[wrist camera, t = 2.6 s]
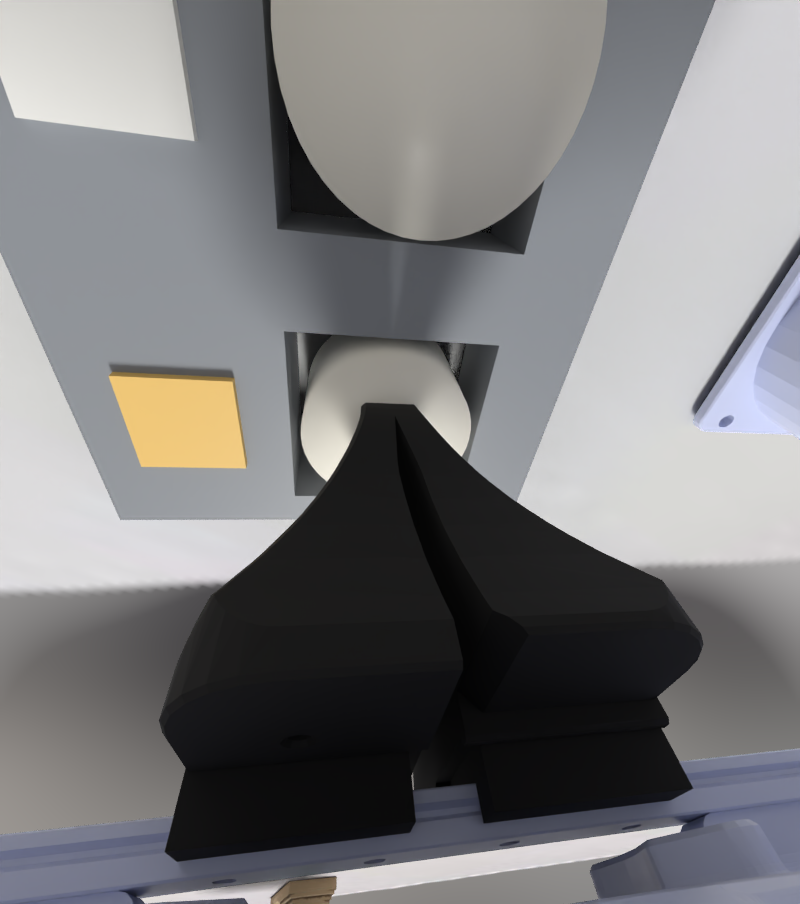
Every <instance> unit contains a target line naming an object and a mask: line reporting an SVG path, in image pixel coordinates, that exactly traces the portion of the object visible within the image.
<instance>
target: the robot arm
mask: <svg viewBox="0 0 800 904" xmlns="http://www.w3.org/2000/svg"><path fill="white" fill-rule="evenodd" d="M693 423H694V425H695V426H696V427H698V428H699V429H700V430H701V431H705V432H731V433H760V434H788V435H793V436H795V437H796V438H798V439H799V440H800V255H799V256H798V258H797V260H796V261H795V263H794V264H793V266H792V267H791V269H790V270H789V272H788V273H787V275H786V276H785V278H784V280H783V281H782V283H781V284H780V286H779V287H778V289H777V290H776V292H775V293H774V295H773V296H772V298H771V299H770V301H769V303H768V304H767V306H766V307H765V309H764V310H763V312H762V313H761V315H760V316H759V318H758V319H757V321H756V322H755V324H754V326H753V327H752V329H751V330H750V332H749V333H748V335H747V336H746V338H745V339H744V341H743V342H742V344H741V345H740V347H739V349H738V350H737V352H736V353H735V355H734V356H733V358H732V359H731V361H730V362H729V364H728V365H727V367H726V369H725V370H724V372H723V373H722V375H721V376H720V378H719V379H718V381H717V382H716V384H715V385H714V387H713V388H712V390H711V392H710V393H709V395H708V396H707V398H706V399H705V401H704V402H703V404H702V405H701V407H700V408H699V410H698V411H697V413H696V415H695V417H694V419H693ZM702 646H703V640H702V636H701V633H700V632H699V631H698V629H697V628H696V626H695V625H694V624H693V622H692V621H691V619H690V618H689V617H688V615H687V614H686V613H685V611H684V610H683V608H682V607H681V605H680V604H679V603H678V601H677V600H676V599H675V597H674V596H673V594H672V593H671V592H670V590H669V589H668V587H667V586H666V585H665V583H664V582H663V581H662V580H660V579H658V578H656V577H654V576H652V575H649V574H647V573H645V572H643V571H641V570H639V569H636V568H634V567H632V566H630V565H628V564H626V563H624V562H621V561H619V560H617V559H615V558H613V557H611V556H608V555H606V554H604V553H602V552H600V551H598V550H596V549H594V548H593V547H591V546H589V545H587V544H585V543H583V542H581V541H580V540H578V539H576V538H574V537H572V536H570V535H568V534H567V533H565V532H563V531H562V530H560V529H558V528H556V527H555V526H553V525H551V524H550V523H548V522H546V521H545V520H543V519H542V518H540V517H539V516H537V515H535V514H534V513H532V512H531V511H529V510H528V509H526V508H525V507H523V506H522V505H520V504H519V503H517V502H516V501H514V500H513V499H512V498H510V497H509V496H508V495H506V494H505V493H504V492H502V491H501V490H500V489H499V488H497V487H496V486H495V485H493V484H492V483H491V482H489V481H488V480H487V479H486V478H485V477H483V476H482V475H481V474H480V473H479V472H478V471H476V470H475V469H474V468H473V467H472V466H471V465H470V464H469V463H468V462H467V461H466V460H465V459H463V458H462V457H461V456H460V455H459V454H458V453H457V452H456V451H455V450H454V449H453V448H452V447H451V446H450V445H449V444H448V442H447V441H446V440H445V439H444V438H443V437H442V436H441V435H440V434H439V433H438V432H437V430H436V429H435V428H434V427H433V426H432V425H431V424H430V422H429V421H428V420H427V419H426V418H425V417H424V415H423V414H422V413H421V412H420V411H419V410H418V408H417V407H416V406H415V405H414V404H390V403H365V404H363V405H362V406H361V415H360V419H359V422H358V425H357V428H356V430H355V433H354V435H353V437H352V439H351V442H350V444H349V446H348V448H347V450H346V452H345V453H344V455H343V457H342V459H341V460H340V462H339V464H338V466H337V467H336V469H335V471H334V472H333V474H332V475H331V477H330V478H329V480H328V481H327V483H326V484H325V485H324V487H323V488H322V489H321V491H320V492H319V493H318V495H317V496H316V497H315V498H314V500H313V501H312V502H311V503H310V504H309V506H308V507H307V508H306V509H305V510H304V512H303V513H302V514H301V515H300V516H299V517H298V518H297V520H296V521H295V522H294V523H293V524H292V525H291V526H290V527H289V528H288V529H287V530H286V531H285V532H284V533H283V534H282V535H281V536H280V537H279V538H278V539H277V540H276V541H275V542H274V543H273V544H271V545H270V546H269V547H268V548H267V549H266V550H265V551H264V552H263V553H262V554H261V555H260V556H259V557H258V558H256V559H255V560H254V561H253V562H252V563H251V564H249V565H248V566H247V567H246V568H244V569H243V570H242V571H241V572H240V573H238V574H237V575H236V576H235V577H233V578H232V579H231V580H230V581H229V582H227V583H226V584H225V585H224V586H222V587H221V588H220V589H219V590H217V591H216V592H215V593H214V594H212V595H211V597H210V598H209V600H208V602H207V603H206V605H205V607H204V609H203V611H202V612H201V614H200V616H199V618H198V620H197V622H196V624H195V626H194V628H193V630H192V632H191V634H190V636H189V638H188V640H187V642H186V644H185V647H184V649H183V651H182V653H181V656H180V658H179V660H178V663H177V666H176V669H175V671H174V675H173V678H172V681H171V684H170V687H169V690H168V694H167V697H166V700H165V703H164V706H163V709H162V713H161V716H160V719H159V722H160V726H161V729H162V733H163V734H164V736H165V737H166V739H167V740H168V742H169V743H170V745H171V746H172V748H173V749H174V751H175V752H176V754H177V755H178V757H179V758H180V760H181V761H182V763H183V765H184V766H185V768H186V770H185V773H184V777H183V781H182V785H181V789H180V793H179V797H178V801H177V805H176V809H175V813H174V816H168V817H160V818H151V819H141V820H131V821H122V822H114V823H103V824H95V825H85V826H76V827H67V828H58V829H48V830H38V831H30V832H20V833H11V834H1V835H0V904H145V903H144V902H143V901H142V900H141V899H140V898H146V897H153V896H161V895H168V894H175V893H183V892H190V891H198V890H205V889H212V888H220V887H227V886H234V885H242V884H249V883H257V882H264V881H271V880H279V879H286V878H294V877H301V876H308V875H316V874H323V873H330V872H338V871H345V870H353V869H360V868H367V867H375V866H382V865H390V864H397V863H404V862H412V861H419V860H427V859H434V858H441V857H449V856H456V855H463V854H471V853H478V852H486V851H493V850H500V849H508V848H515V847H523V846H530V845H537V844H545V843H552V842H560V841H567V840H574V839H582V838H589V837H596V836H604V835H611V834H619V833H626V832H633V831H641V830H648V829H656V828H663V827H670V826H678V825H683V826H682V829H681V832H680V833H676V834H671V835H667V836H663V837H658V838H654V839H650V840H647V841H645V842H644V843H642V844H641V845H640V846H638V847H637V848H636V849H633V850H631V851H629V852H627V853H624V854H622V855H620V856H618V857H615V858H612V859H609V860H606V861H603V862H600V863H597V864H594V865H592V867H591V870H590V873H591V877H592V880H593V883H594V885H595V889H596V892H597V895H598V898H599V899H597V900H592V901H585V902H579V903H573V904H800V748H799V749H789V750H780V751H771V752H762V753H752V754H743V755H734V756H725V757H715V758H706V759H696V760H687V761H679V760H678V759H677V757H676V755H675V753H674V751H673V749H672V748H671V746H670V744H669V742H668V740H667V738H666V736H665V734H664V733H663V731H662V729H661V728H665V727H666V726H667V725H668V724H669V719H668V716H667V714H666V712H665V711H664V709H663V707H662V705H661V704H660V702H659V700H658V698H657V696H659V695H660V694H661V693H662V692H663V691H664V690H666V689H667V688H668V687H669V686H670V685H671V684H673V683H674V682H675V681H676V680H677V679H678V678H680V677H681V676H682V675H683V674H684V673H685V672H687V671H688V670H689V669H690V667H691V666H692V665H693V664H694V663H695V662H696V661H697V660H698V657H699V655H700V652H701V650H702ZM412 773H413V778H414V790H413V789H412V779H411V775H412ZM150 904H248V903H247V902H246V900H245V898H237V899H218V900H199V901H180V902H161V903H150Z"/></svg>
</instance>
